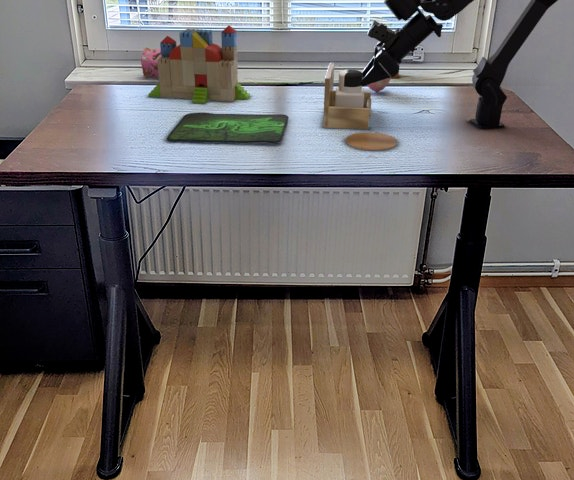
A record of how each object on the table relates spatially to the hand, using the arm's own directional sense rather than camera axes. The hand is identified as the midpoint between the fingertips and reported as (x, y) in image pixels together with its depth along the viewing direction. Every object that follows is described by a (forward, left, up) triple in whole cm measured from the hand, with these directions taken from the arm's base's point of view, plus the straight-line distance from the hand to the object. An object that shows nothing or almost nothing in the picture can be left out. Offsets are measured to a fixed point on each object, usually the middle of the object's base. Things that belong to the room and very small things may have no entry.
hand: (361, 80), depth 159 cm
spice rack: (+1, +2, -10) cm, 10 cm away
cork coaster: (-18, +3, -10) cm, 21 cm away
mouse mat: (-1, +34, -10) cm, 35 cm away
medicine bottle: (+1, +2, -10) cm, 10 cm away
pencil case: (+55, +41, -10) cm, 69 cm away
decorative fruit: (+24, -14, -10) cm, 29 cm away
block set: (+31, +37, -10) cm, 49 cm away
